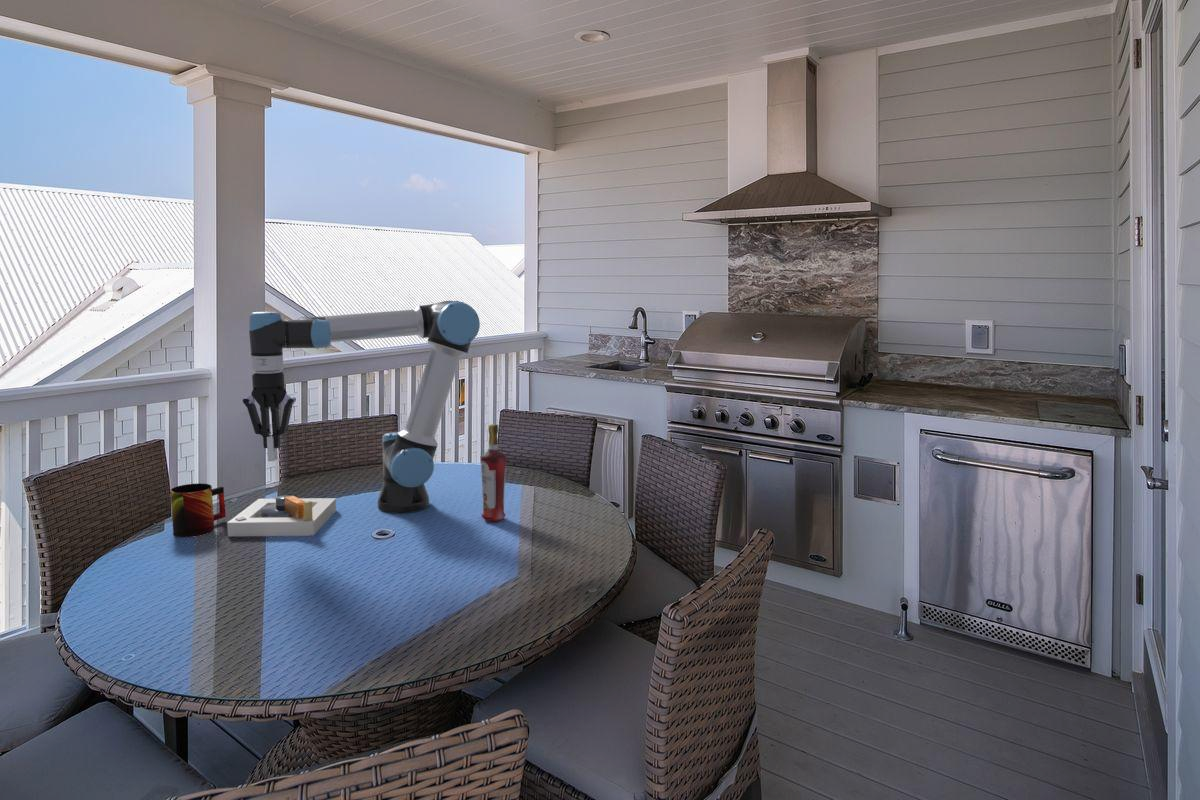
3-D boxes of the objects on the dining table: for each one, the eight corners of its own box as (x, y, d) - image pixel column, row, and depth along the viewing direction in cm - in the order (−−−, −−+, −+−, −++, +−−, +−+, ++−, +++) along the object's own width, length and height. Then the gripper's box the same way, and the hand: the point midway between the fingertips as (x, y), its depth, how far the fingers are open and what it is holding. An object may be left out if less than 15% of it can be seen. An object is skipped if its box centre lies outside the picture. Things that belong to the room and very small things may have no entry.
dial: (254, 514, 201) (253, 493, 200) (296, 505, 209) (295, 485, 208) (280, 529, 189) (279, 507, 188) (323, 519, 198) (323, 498, 197)
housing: (336, 510, 213) (335, 481, 212) (313, 535, 191) (312, 503, 190) (259, 511, 211) (258, 482, 210) (228, 536, 189) (226, 504, 188)
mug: (226, 520, 202) (224, 479, 201) (205, 537, 189) (202, 493, 187) (190, 521, 201) (187, 479, 200) (166, 537, 188) (163, 493, 186)
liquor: (475, 519, 207) (474, 424, 203) (495, 514, 213) (495, 421, 208) (491, 525, 202) (491, 428, 198) (511, 520, 208) (511, 425, 203)
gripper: (235, 373, 182) (241, 463, 185) (288, 373, 183) (293, 463, 187) (247, 369, 189) (252, 456, 193) (298, 370, 190) (302, 456, 194)
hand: (272, 459), depth 190 cm, fingers closed
